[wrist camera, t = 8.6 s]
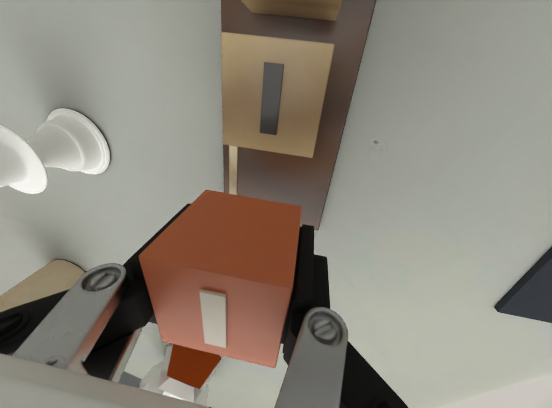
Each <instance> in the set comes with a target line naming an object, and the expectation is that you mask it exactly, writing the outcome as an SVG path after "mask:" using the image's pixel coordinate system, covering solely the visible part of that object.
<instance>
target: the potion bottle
mask: <svg viewBox="0 0 552 408" xmlns="http://www.w3.org/2000/svg"><path fill="white" fill-rule="evenodd" d="M220 360H221V357H220V355H217V354H213V353H209V352H205V351H201V350H197V349H192V348H188V347H184V346H180V345H176V344H173V345H171V346H167V349H166V354H165V358H164V361H162V362H160V363H159V364H157V365H155V366H154V367H153V368H152V369H151V370H150V371H149V372H148V373H147V375H146V376H145V377H144V378H143V379H142V380H141V382H140V383H139V384H138V387H137V388H139V389H143V390H147V391H150V392H154V393H158V394H162V395H166V396H169V397H173V398H177V399H181V400H185V401H188V402H192V403H196V404H200V405H203V406H206V402H207V397H208V392H209V387H208V382H209V380H210V379H211V377H212V376H213V374H214V373H215V372H216V370H217V369H218V367H217V364H218V363H219V361H220Z"/></svg>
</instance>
